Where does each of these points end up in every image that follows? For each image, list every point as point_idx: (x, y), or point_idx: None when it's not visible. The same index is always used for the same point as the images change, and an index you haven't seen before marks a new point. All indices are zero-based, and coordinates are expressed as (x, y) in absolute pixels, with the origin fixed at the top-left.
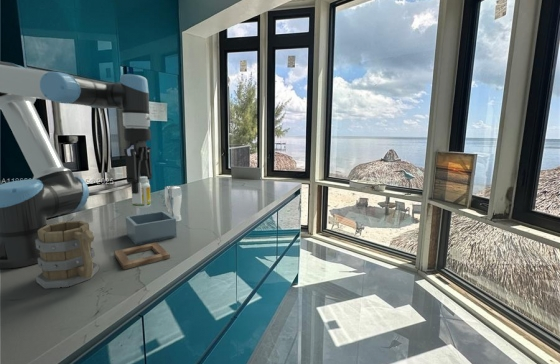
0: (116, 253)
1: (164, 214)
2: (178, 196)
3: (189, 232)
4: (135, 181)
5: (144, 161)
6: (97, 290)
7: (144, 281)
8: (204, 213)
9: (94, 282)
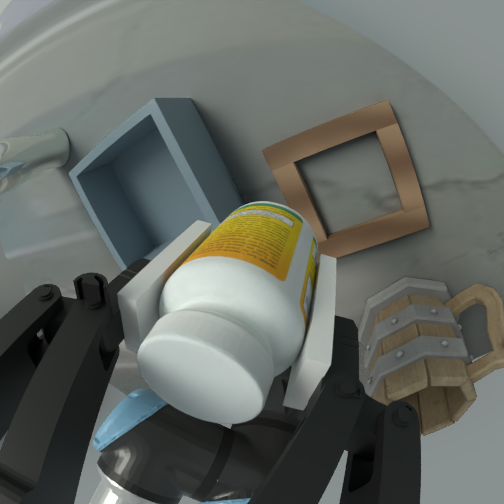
0: (334, 256)
1: (94, 160)
2: (2, 146)
3: (154, 67)
4: (409, 406)
5: (45, 482)
6: (494, 258)
7: (499, 170)
8: (24, 82)
9: (461, 271)
